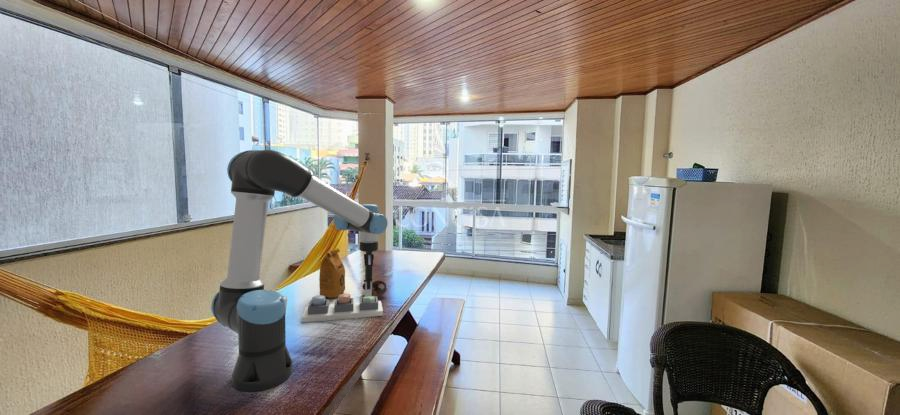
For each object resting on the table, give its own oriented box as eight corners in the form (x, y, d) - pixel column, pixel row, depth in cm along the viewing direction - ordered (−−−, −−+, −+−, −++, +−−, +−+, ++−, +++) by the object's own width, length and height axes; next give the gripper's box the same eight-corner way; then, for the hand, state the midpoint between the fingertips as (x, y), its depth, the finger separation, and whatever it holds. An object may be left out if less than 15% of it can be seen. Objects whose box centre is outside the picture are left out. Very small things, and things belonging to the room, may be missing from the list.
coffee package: (348, 291, 169) (348, 248, 167) (335, 300, 157) (335, 253, 155) (330, 290, 171) (330, 246, 169) (316, 298, 158) (315, 252, 157)
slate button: (311, 307, 136) (311, 300, 136) (312, 302, 141) (312, 295, 141) (324, 306, 137) (324, 299, 137) (325, 301, 142) (325, 294, 142)
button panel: (302, 322, 132) (302, 310, 132) (306, 310, 144) (306, 299, 143) (382, 315, 141) (383, 303, 140) (380, 305, 152) (380, 294, 152)
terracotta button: (337, 305, 139) (337, 298, 138) (338, 301, 144) (338, 294, 143) (350, 304, 140) (350, 297, 140) (350, 300, 145) (350, 293, 145)
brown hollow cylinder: (386, 292, 171) (389, 280, 167) (382, 306, 163) (385, 294, 159) (363, 286, 170) (365, 274, 166) (357, 300, 162) (360, 288, 158)
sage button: (362, 307, 142) (362, 300, 141) (362, 303, 146) (362, 296, 146) (375, 306, 143) (375, 299, 143) (374, 302, 148) (374, 295, 148)
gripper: (379, 243, 137) (378, 300, 139) (377, 238, 150) (376, 290, 151) (360, 244, 135) (359, 301, 137) (359, 238, 148) (358, 291, 149)
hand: (368, 295), depth 144 cm, fingers closed
